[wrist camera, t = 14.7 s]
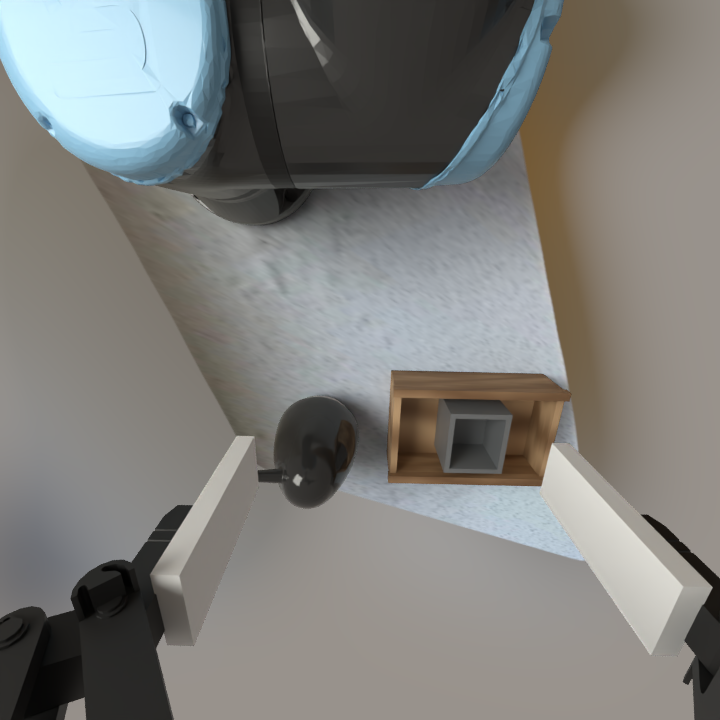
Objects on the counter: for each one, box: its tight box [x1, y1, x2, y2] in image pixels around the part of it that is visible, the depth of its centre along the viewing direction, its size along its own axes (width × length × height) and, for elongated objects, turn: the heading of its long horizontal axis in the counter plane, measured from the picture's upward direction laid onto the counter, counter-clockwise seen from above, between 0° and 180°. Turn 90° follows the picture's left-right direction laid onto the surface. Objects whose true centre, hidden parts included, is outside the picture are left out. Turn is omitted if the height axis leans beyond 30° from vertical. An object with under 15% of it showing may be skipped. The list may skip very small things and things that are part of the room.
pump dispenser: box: [258, 396, 359, 509], centre depth 40 cm, size 10×10×15 cm
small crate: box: [434, 399, 513, 474], centre depth 43 cm, size 8×7×6 cm
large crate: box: [387, 370, 571, 486], centre depth 44 cm, size 13×20×6 cm, turn 89°
